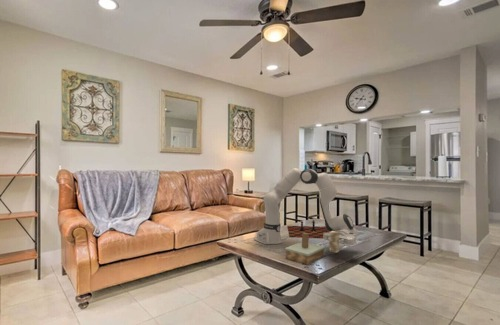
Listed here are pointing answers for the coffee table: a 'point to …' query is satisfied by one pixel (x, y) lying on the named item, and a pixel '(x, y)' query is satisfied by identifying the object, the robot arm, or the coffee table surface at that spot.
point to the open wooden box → (304, 257)
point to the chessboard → (307, 231)
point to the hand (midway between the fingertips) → (333, 240)
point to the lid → (305, 247)
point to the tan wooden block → (333, 241)
